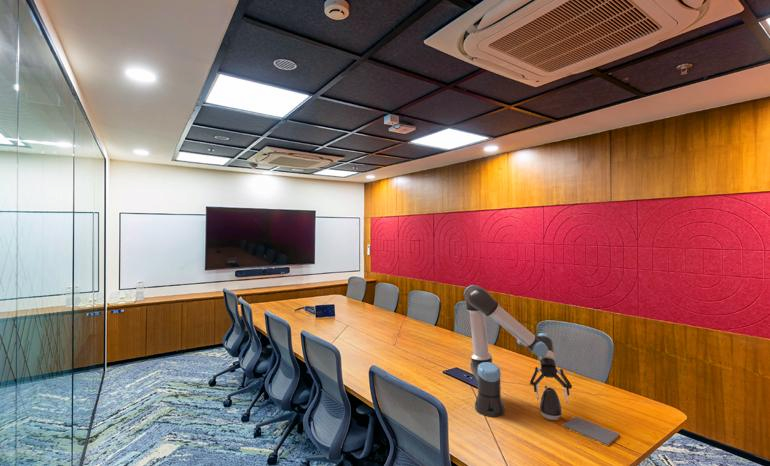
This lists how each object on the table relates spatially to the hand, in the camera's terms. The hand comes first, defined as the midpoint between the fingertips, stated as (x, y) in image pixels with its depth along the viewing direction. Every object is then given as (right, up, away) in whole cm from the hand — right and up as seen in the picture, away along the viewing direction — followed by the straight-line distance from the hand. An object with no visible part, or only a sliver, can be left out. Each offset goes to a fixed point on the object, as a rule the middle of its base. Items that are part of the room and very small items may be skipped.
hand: (552, 400), depth 181 cm
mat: (+12, -8, -14) cm, 20 cm away
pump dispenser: (-1, -9, -1) cm, 9 cm away
